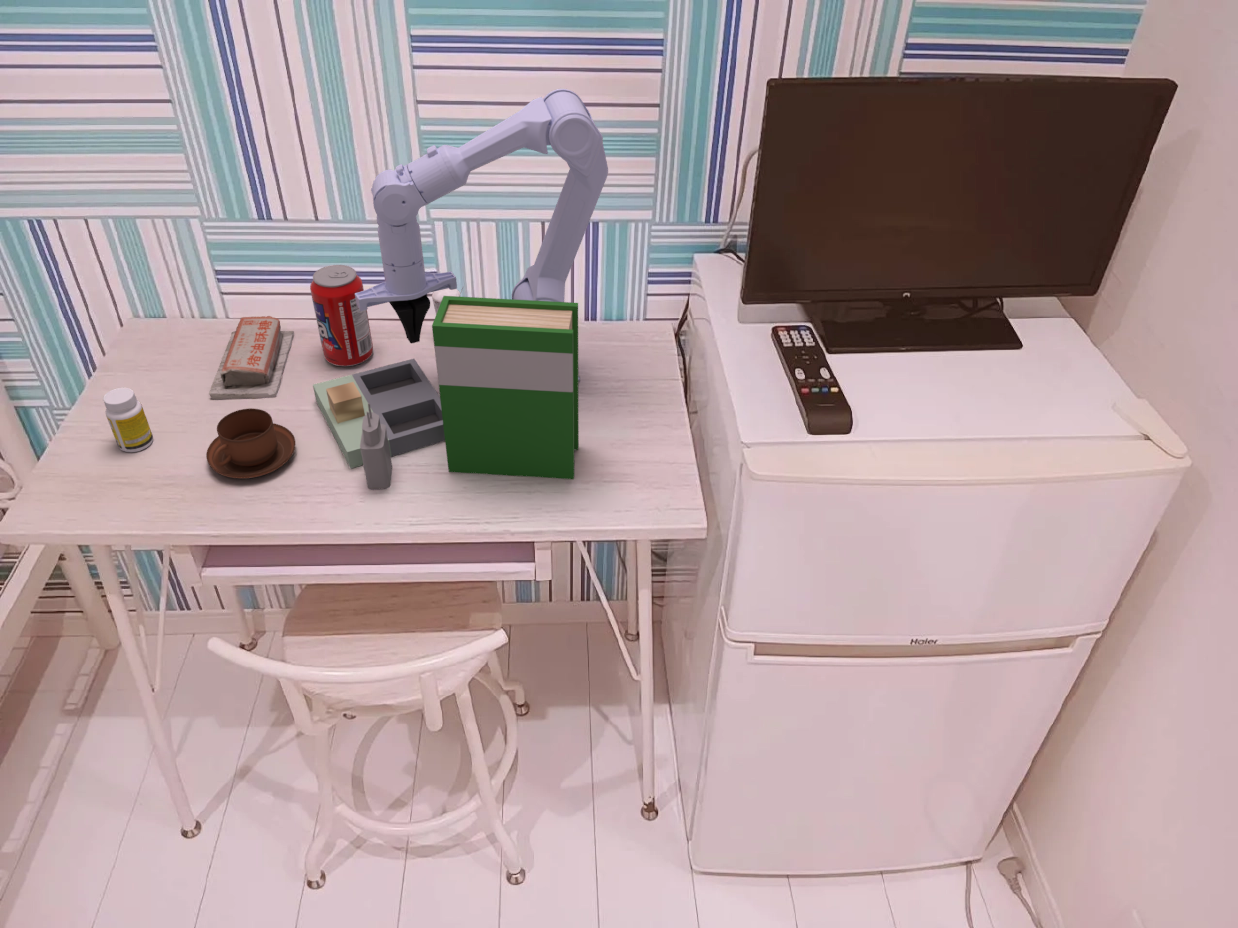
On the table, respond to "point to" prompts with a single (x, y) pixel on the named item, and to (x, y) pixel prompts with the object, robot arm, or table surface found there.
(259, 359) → the packaged product
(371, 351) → the soda can
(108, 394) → the supplement bottle
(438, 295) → the milkshake
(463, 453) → the hardback book
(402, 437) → the box
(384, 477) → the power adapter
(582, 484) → the table surface
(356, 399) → the maple block
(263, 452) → the cup and saucer
